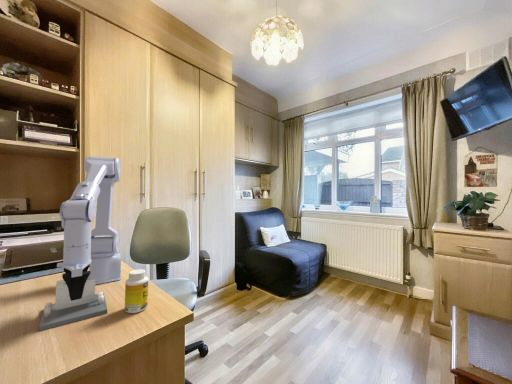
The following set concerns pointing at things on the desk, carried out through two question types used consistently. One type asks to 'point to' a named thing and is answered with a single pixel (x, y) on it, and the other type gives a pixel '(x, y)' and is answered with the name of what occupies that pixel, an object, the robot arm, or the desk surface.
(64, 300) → the block
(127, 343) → the desk surface
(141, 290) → the supplement bottle
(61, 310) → the pin tray
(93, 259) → the robot arm
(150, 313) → the desk surface
